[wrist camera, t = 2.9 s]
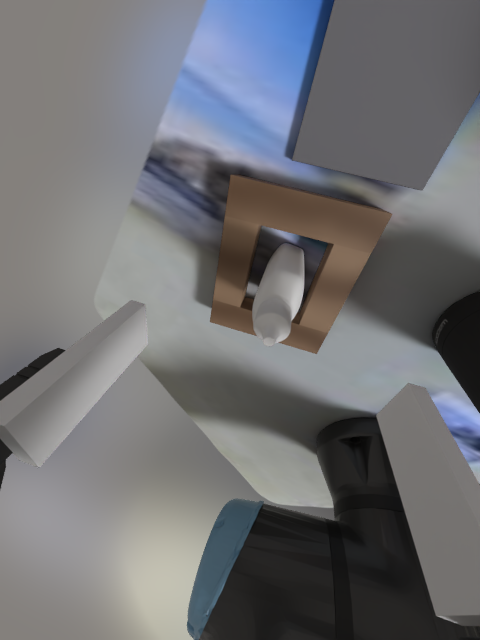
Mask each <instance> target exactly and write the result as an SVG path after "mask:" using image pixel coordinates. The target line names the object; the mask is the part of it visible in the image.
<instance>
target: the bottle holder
mask: <svg viewBox="0 0 480 640" xmlns="http://www.w3.org/2000/svg"><path fill="white" fill-rule="evenodd" d="M391 216H392V214H391V213H389V212H387V211H385V210H383V209H378V208H374V207H370V206H366V205H362V204H358V203H354V202H350V201H346V200H341V199H337V198H333V197H329V196H325V195H321V194H317V193H313V192H309V191H304V190H300V189H296V188H292V187H288V186H284V185H280V184H276V183H272V182H267V181H263V180H259V179H255V178H251V177H247V176H243V175H239V174H233V175H231V176H230V183H229V190H228V197H227V204H226V211H225V219H224V226H223V233H222V240H221V247H220V254H219V261H218V268H217V275H216V282H215V289H214V296H213V304H212V311H211V318H210V322H212V323H215V324H219V325H222V326H225V327H229V328H232V329H235V330H238V331H242V332H245V333H248V334H252V335H255V336H257V335H256V333H255V332H254V328H253V318H252V308H253V302H254V299H251V298H247V297H245V294H246V290H247V286H248V281H249V277H250V273H251V269H252V264H253V260H254V256H255V252H256V247H257V243H258V239H259V235H260V230H261V226H266V227H270V228H274V229H278V230H282V231H285V232H289V233H293V234H297V235H301V236H305V237H308V238H312V239H316V240H320V241H324V242H328V245H327V248H326V250H325V253H324V255H323V257H322V260H321V262H320V265H319V267H318V269H317V272H316V274H315V276H314V279H313V281H312V284H311V286H310V288H309V291H308V293H307V296H306V298H305V300H304V303H303V305H302V308H301V310H300V312H297V314H296V316H295V317H294V319H293V320H292V321H291V331H290V333H289V336H288V337H287V338H286V339H285V340H283V341H281V342H278V343H282V344H285V345H288V346H292V347H295V348H298V349H302V350H305V351H308V352H312V353H315V354H317V352H318V350H319V349H320V347H321V345H322V343H323V341H324V339H325V337H326V336H327V334H328V332H329V330H330V328H331V326H332V325H333V323H334V321H335V319H336V317H337V315H338V314H339V312H340V310H341V308H342V306H343V304H344V302H345V301H346V299H347V297H348V295H349V293H350V291H351V290H352V288H353V286H354V284H355V282H356V280H357V279H358V277H359V275H360V273H361V271H362V269H363V267H364V266H365V264H366V262H367V260H368V258H369V256H370V255H371V253H372V251H373V249H374V247H375V245H376V243H377V242H378V240H379V238H380V236H381V234H382V232H383V231H384V229H385V227H386V225H387V223H388V221H389V220H390V218H391Z"/></svg>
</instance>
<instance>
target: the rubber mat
mask: <svg viewBox="0 0 480 640" xmlns="http://www.w3.org/2000/svg"><path fill="white" fill-rule="evenodd" d="M479 92H480V0H335V1H334V5H333V8H332V12H331V16H330V20H329V23H328V27H327V31H326V34H325V38H324V42H323V46H322V49H321V53H320V57H319V61H318V64H317V68H316V72H315V76H314V79H313V83H312V87H311V91H310V94H309V98H308V102H307V106H306V109H305V113H304V117H303V121H302V124H301V128H300V132H299V136H298V139H297V143H296V147H295V151H294V154H293V158H292V160H293V161H297V162H302V163H306V164H310V165H314V166H319V167H323V168H327V169H332V170H336V171H340V172H344V173H349V174H353V175H357V176H361V177H366V178H370V179H374V180H379V181H383V182H387V183H391V184H396V185H400V186H404V187H409V188H413V189H417V190H423V189H424V187H425V185H426V183H427V182H428V180H429V178H430V177H431V175H432V173H433V171H434V170H435V168H436V166H437V165H438V163H439V161H440V159H441V158H442V156H443V154H444V153H445V151H446V149H447V147H448V146H449V144H450V142H451V140H452V139H453V137H454V135H455V134H456V132H457V130H458V128H459V127H460V125H461V123H462V122H463V120H464V118H465V116H466V115H467V113H468V111H469V110H470V108H471V106H472V104H473V103H474V101H475V99H476V97H477V96H478V94H479Z"/></svg>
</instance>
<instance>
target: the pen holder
mask: <svg viewBox="0 0 480 640" xmlns="http://www.w3.org/2000/svg"><path fill="white" fill-rule="evenodd" d="M433 342H434V345H435V347H436V349H437V350H438V352H439V354H440V355H441V357H442V358H443V360H444V361H445V363H446V365H447V366H448V367H449V369H450V370H451V372H452V373H453V375H454V376H455V378H456V379H457V381H458V382H459V384H460V385H461V387H462V388H463V390H464V391H465V392H466V394H467V395H468V397H469V398H470V400H471V401H472V403H473V404H474V406H475V407H476V409H477V410H478V412H479V413H480V292H477V293H474V294H472V295H469V296H467V297H465V298H463V299H461V300H460V301H458V302H456V303H455V304H453V305H452V306H451V307H450V308H448V309H447V310H446V311H445V312H444V313H443V314H442V315H441V317H440V318H439V319H438V321H437V323H436V325H435V327H434V330H433Z"/></svg>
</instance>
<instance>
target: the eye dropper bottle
mask: <svg viewBox="0 0 480 640" xmlns="http://www.w3.org/2000/svg"><path fill="white" fill-rule="evenodd" d="M303 292H304V252H303V250H302V249H301V248H299V247H297V246H294V245H291V244H288V243H284V244H282V245H281V246H279V248H278V249H277V250H276V251H275V252H274V254H273V255H272V257H271V258H270V260H269V262H268V264H267V267H266V269H265V272H264V274H263V277H262V280H261V282H260V285H259V288H258V290H257V293H256V296H255V299H254V302H253V308H252V318H253V328H254V332H255V333H256V335H257V336H258V337H259V338H260V339H261V340H263V343H264V345H266V346H269V347H270V346H273V345H274V344H275V343H277V342H281V341H283V340H285V339H286V338H287V337H288V336H289V333H290V331H291V321H292V320H293V319H294V317H295V316H296V314H297V312H298V310H299V308H300V305H301V302H302V298H303Z"/></svg>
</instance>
